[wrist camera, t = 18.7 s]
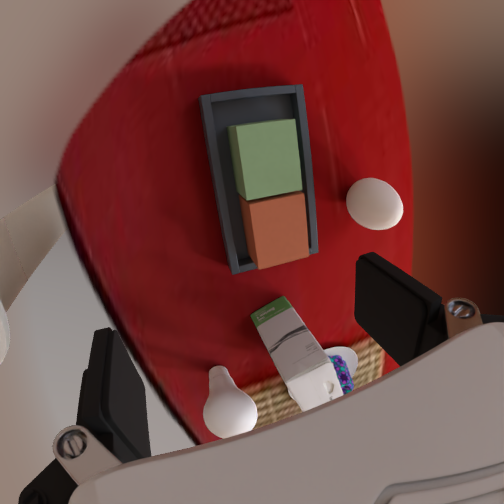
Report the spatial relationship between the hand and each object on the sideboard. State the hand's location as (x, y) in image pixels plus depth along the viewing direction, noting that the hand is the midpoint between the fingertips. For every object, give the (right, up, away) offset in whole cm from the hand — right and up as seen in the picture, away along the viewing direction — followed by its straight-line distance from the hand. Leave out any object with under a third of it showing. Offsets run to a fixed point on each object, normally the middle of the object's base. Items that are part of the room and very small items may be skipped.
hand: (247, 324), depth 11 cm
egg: (+12, +9, +24) cm, 28 cm away
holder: (+1, +10, +20) cm, 22 cm away
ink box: (+4, -7, +28) cm, 29 cm away
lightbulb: (-5, -13, +28) cm, 31 cm away
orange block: (+2, +6, +21) cm, 22 cm away
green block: (+1, +12, +18) cm, 22 cm away
